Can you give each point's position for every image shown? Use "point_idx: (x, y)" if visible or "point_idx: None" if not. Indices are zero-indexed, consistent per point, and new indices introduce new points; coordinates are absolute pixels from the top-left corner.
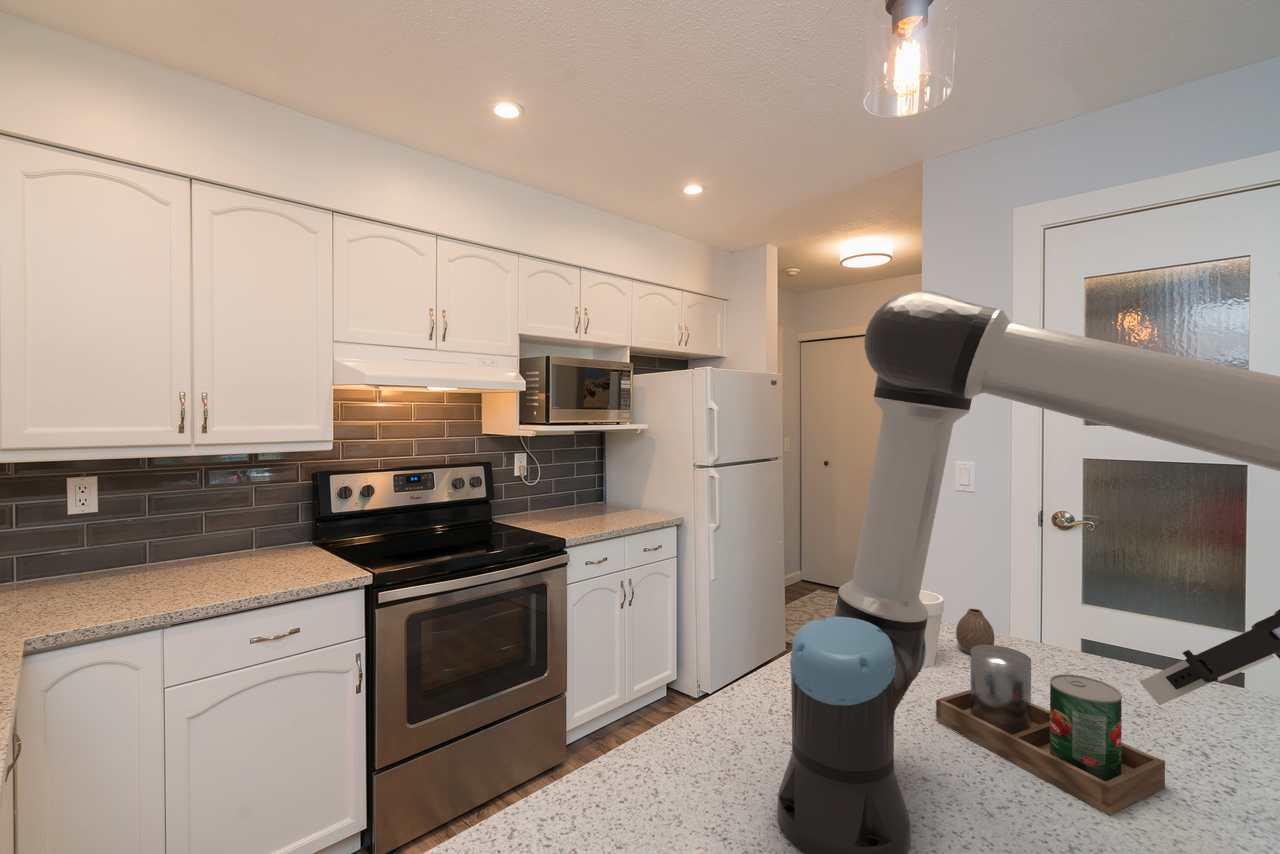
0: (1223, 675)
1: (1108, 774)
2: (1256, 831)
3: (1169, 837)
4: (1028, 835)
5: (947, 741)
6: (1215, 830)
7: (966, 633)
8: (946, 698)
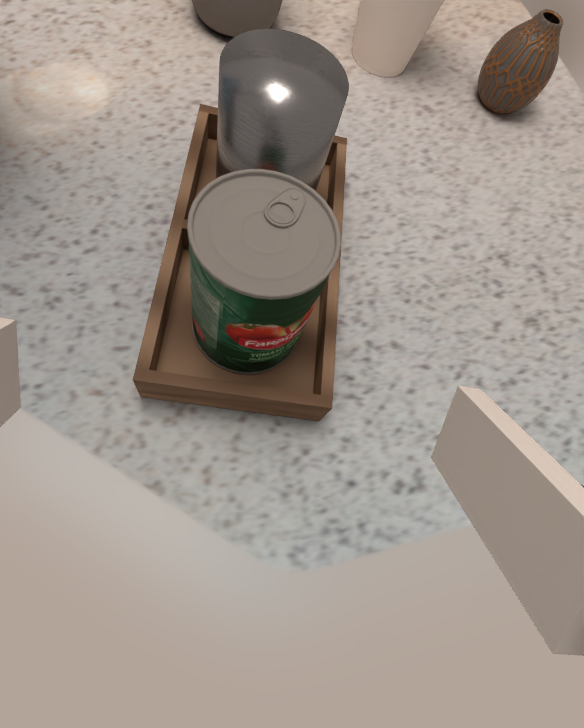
0: (444, 466)
1: (219, 360)
2: (308, 553)
3: (157, 476)
4: None
5: (150, 171)
6: (250, 512)
7: (494, 55)
8: None
